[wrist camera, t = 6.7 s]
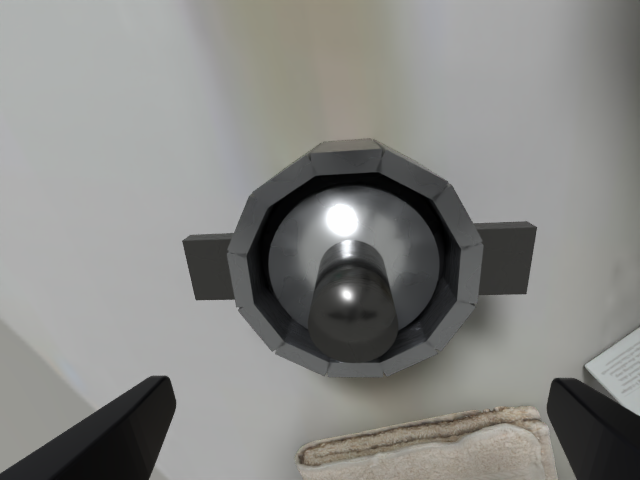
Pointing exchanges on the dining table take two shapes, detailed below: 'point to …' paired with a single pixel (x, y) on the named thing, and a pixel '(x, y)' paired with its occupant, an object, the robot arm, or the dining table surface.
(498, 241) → the pot
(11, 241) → the dining table surface
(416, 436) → the washcloth
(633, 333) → the skincare box
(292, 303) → the lid
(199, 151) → the dining table surface
